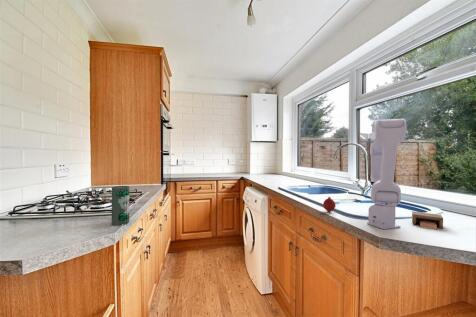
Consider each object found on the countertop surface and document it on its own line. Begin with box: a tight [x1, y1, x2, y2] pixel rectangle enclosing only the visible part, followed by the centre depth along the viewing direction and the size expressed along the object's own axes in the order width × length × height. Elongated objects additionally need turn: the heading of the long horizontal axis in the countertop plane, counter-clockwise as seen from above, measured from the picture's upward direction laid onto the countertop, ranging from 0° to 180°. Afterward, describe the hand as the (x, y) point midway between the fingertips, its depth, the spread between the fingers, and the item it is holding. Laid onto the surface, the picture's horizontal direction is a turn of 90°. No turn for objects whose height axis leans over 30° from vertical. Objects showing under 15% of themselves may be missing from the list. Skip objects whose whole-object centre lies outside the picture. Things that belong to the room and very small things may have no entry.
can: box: [111, 185, 130, 226], centre depth 90 cm, size 6×6×15 cm
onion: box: [322, 196, 336, 213], centre depth 112 cm, size 6×6×8 cm
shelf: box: [411, 211, 444, 230], centre depth 93 cm, size 6×10×4 cm, turn 54°
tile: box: [418, 220, 438, 230], centre depth 91 cm, size 6×5×2 cm
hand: (377, 195), depth 108 cm, fingers closed
